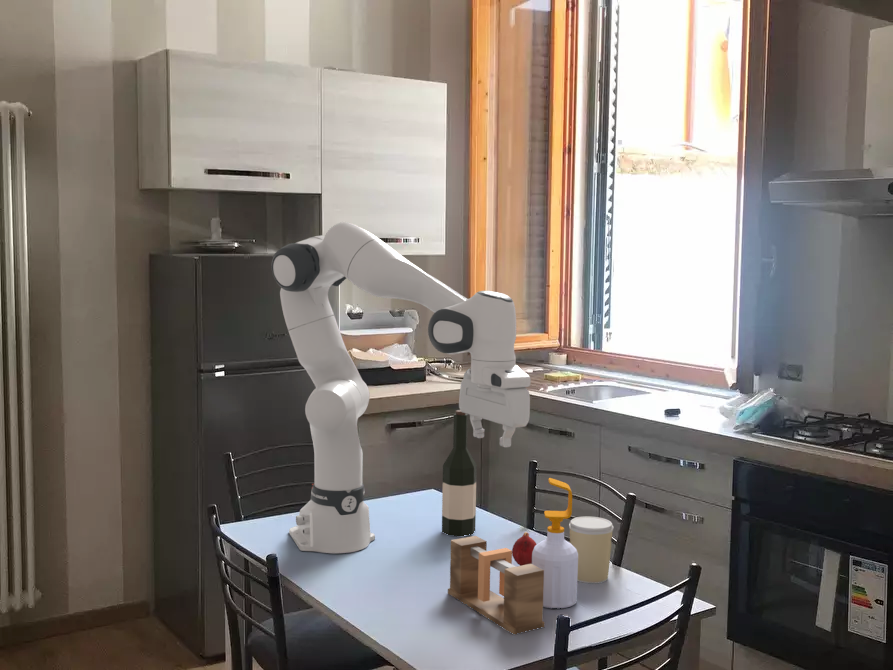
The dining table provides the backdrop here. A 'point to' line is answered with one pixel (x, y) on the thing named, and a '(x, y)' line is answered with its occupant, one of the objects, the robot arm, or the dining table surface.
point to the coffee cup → (592, 547)
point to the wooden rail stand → (510, 612)
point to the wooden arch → (485, 571)
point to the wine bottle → (459, 483)
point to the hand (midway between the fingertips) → (491, 441)
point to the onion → (523, 550)
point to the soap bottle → (557, 559)
